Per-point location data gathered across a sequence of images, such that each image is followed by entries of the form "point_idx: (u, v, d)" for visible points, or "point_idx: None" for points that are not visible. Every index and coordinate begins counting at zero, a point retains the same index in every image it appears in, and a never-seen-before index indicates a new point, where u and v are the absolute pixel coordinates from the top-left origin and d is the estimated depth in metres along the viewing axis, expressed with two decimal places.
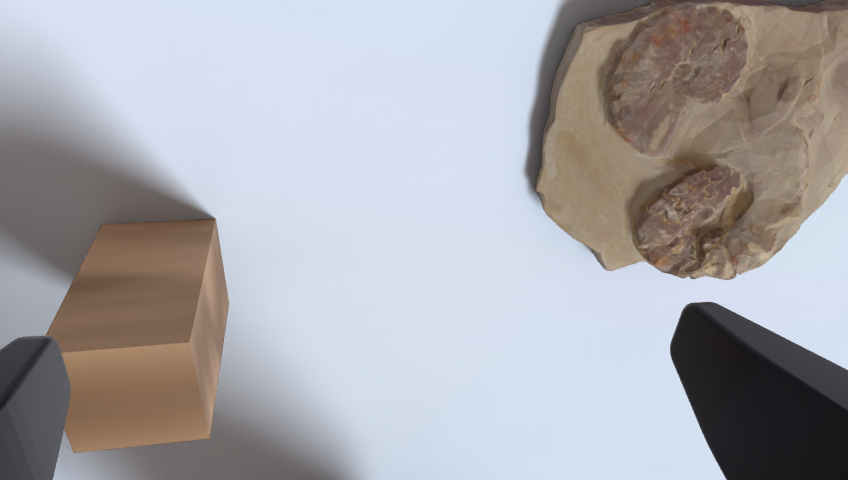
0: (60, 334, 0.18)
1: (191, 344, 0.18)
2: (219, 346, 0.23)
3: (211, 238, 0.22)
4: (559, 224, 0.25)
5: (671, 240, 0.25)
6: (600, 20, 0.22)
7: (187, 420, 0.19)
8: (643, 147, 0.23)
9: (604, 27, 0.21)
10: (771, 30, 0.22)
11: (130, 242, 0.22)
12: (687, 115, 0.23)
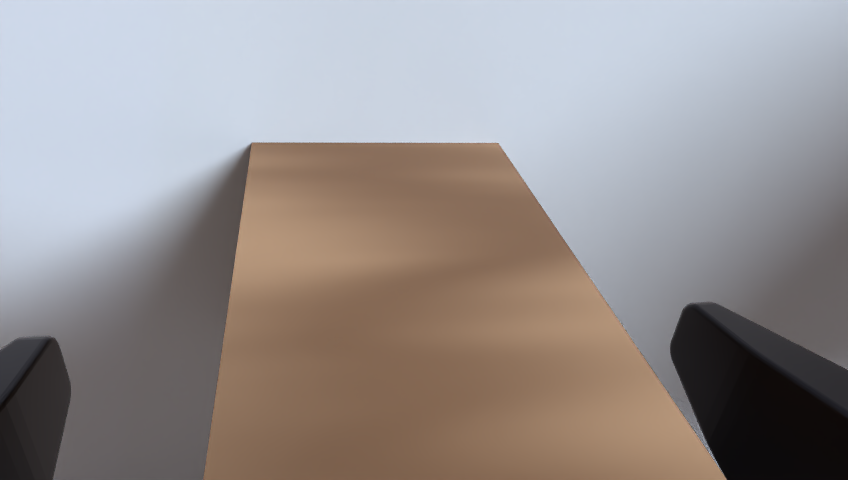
0: None
1: None
2: (527, 247, 0.08)
3: (249, 181, 0.09)
4: None
5: None
6: None
7: None
8: None
9: None
10: None
11: None
12: None
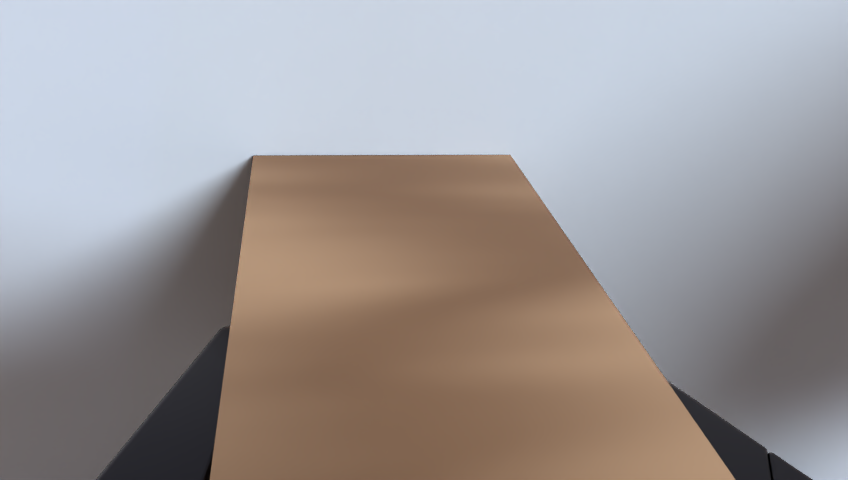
0: None
1: None
2: (546, 270, 0.07)
3: (251, 198, 0.08)
4: None
5: None
6: None
7: None
8: None
9: None
10: None
11: None
12: None
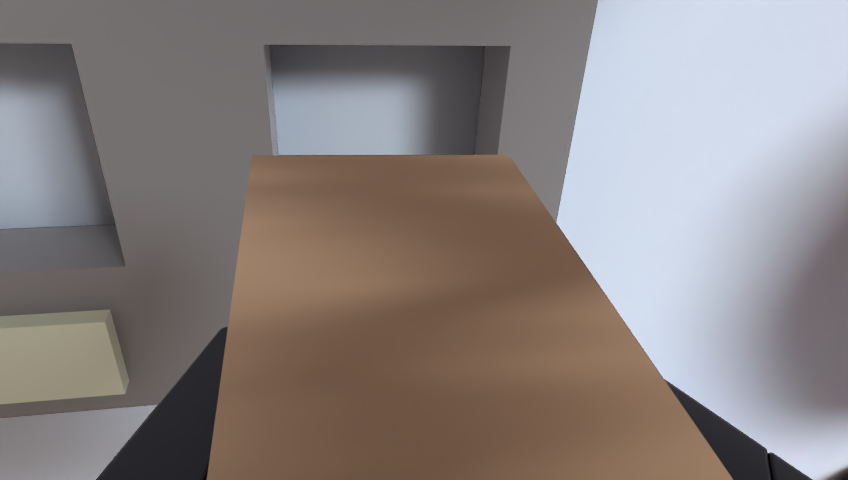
0: None
1: None
2: (544, 270, 0.07)
3: (249, 198, 0.08)
4: None
5: None
6: None
7: None
8: None
9: None
10: None
11: None
12: None
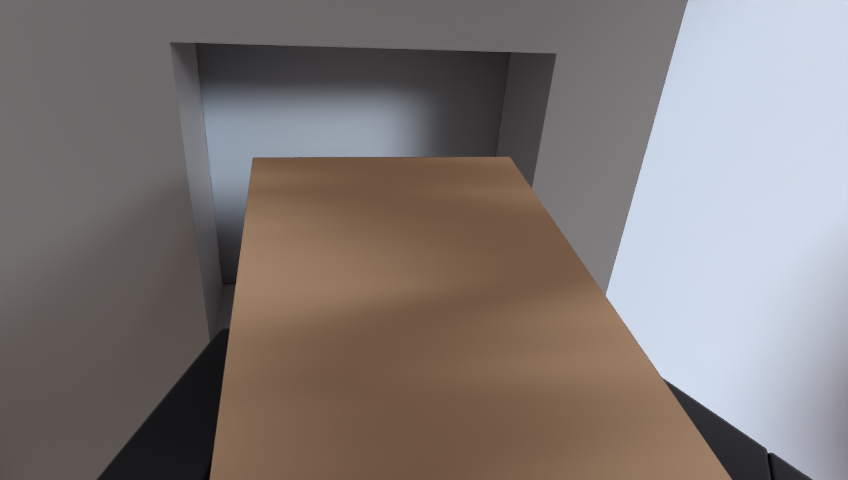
0: None
1: None
2: (545, 273, 0.07)
3: (250, 201, 0.08)
4: None
5: None
6: None
7: None
8: None
9: None
10: None
11: None
12: None
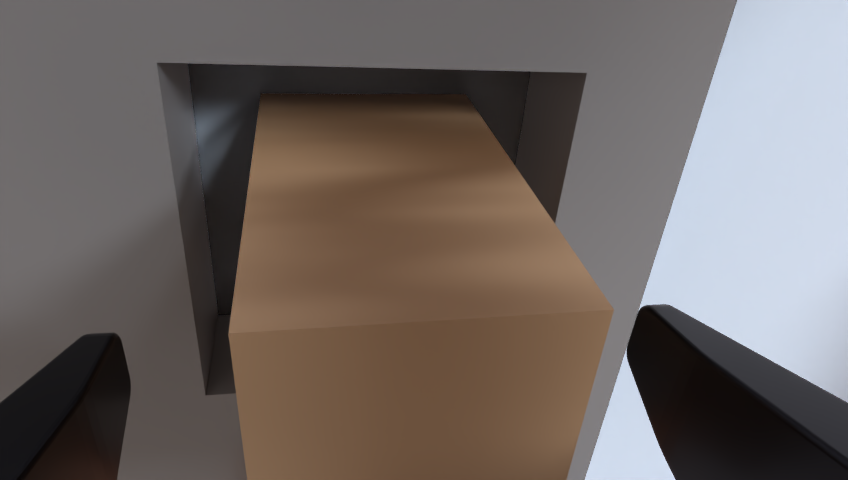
0: None
1: (252, 321, 0.06)
2: (480, 163, 0.10)
3: (259, 119, 0.11)
4: None
5: None
6: None
7: (527, 352, 0.07)
8: None
9: None
10: None
11: None
12: None
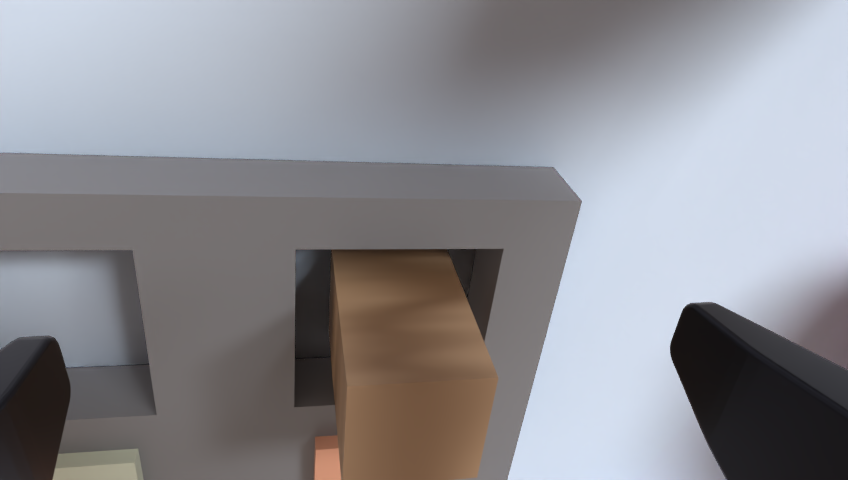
0: (340, 457, 0.18)
1: (355, 381, 0.16)
2: (448, 294, 0.20)
3: (334, 263, 0.21)
4: None
5: None
6: None
7: (463, 394, 0.17)
8: None
9: None
10: None
11: (331, 329, 0.22)
12: None
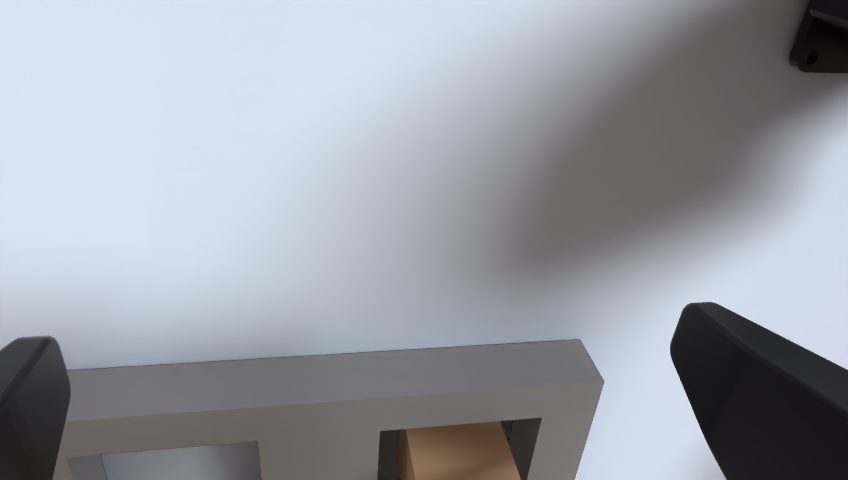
0: None
1: None
2: (499, 456, 0.25)
3: None
4: None
5: None
6: None
7: None
8: None
9: None
10: None
11: (402, 472, 0.27)
12: None
